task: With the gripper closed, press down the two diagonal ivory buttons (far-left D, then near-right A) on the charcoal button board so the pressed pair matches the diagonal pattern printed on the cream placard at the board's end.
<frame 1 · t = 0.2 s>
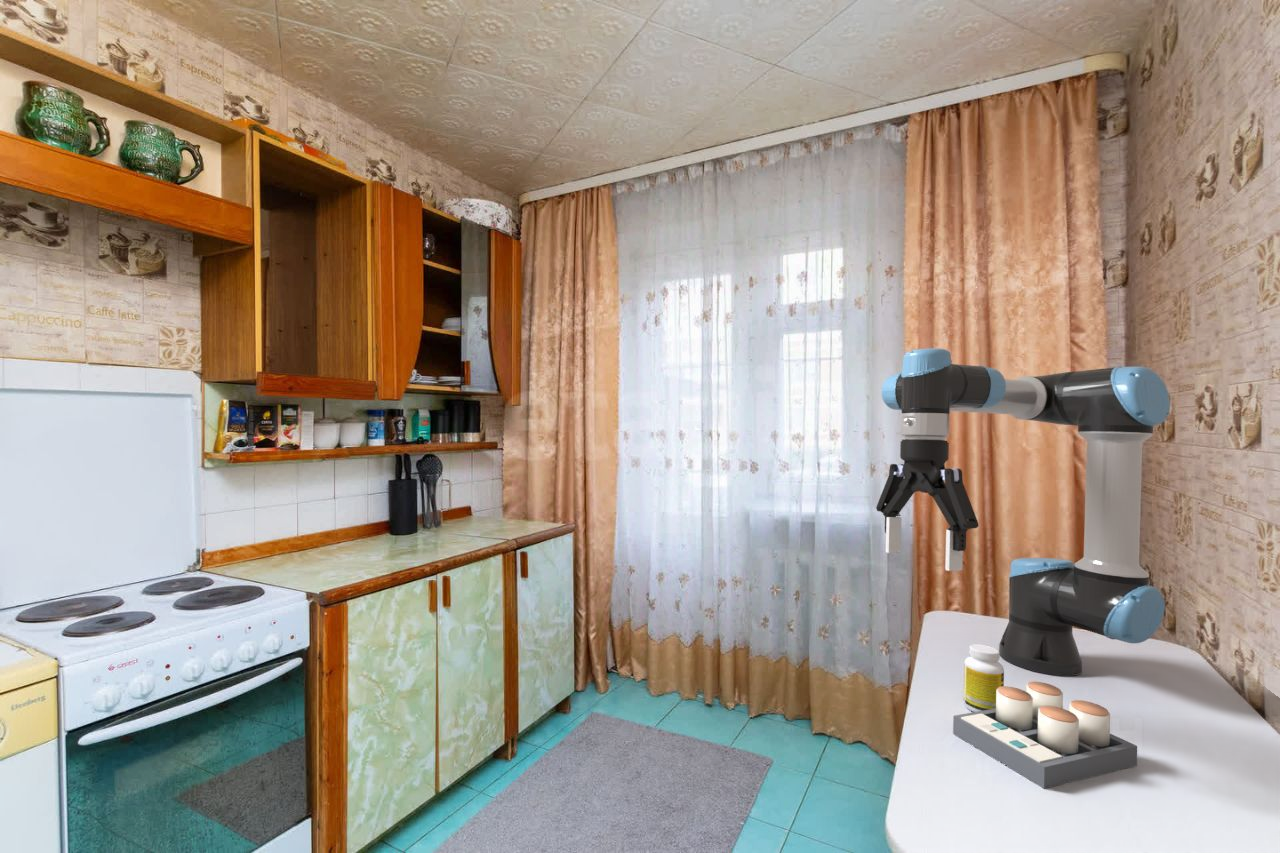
hand: (921, 560, 98), 28 cm above the table, fingers open, 13 cm apart
button A: (1044, 701, 95), point 5 cm above the table, slide at 0.0 cm
button D: (1057, 728, 86), point 5 cm above the table, slide at 0.0 cm
button B: (1089, 722, 88), point 5 cm above the table, slide at 0.0 cm
button C: (1014, 707, 92), point 5 cm above the table, slide at 0.0 cm
pill bottle: (983, 710, 102), on the table
board: (1041, 749, 90), on the table
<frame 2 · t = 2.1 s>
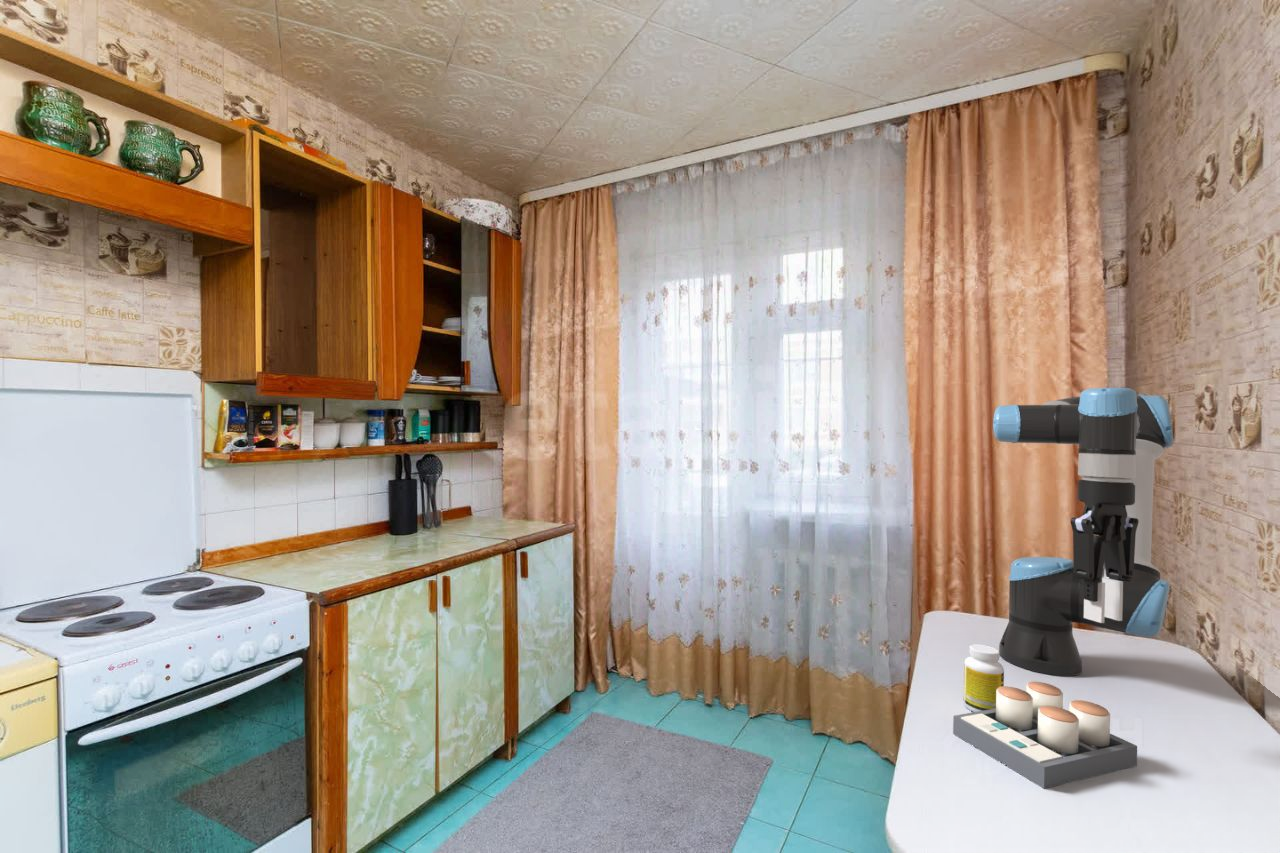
hand: (1102, 618, 94), 20 cm above the table, fingers open, 4 cm apart
nothing on the table moved.
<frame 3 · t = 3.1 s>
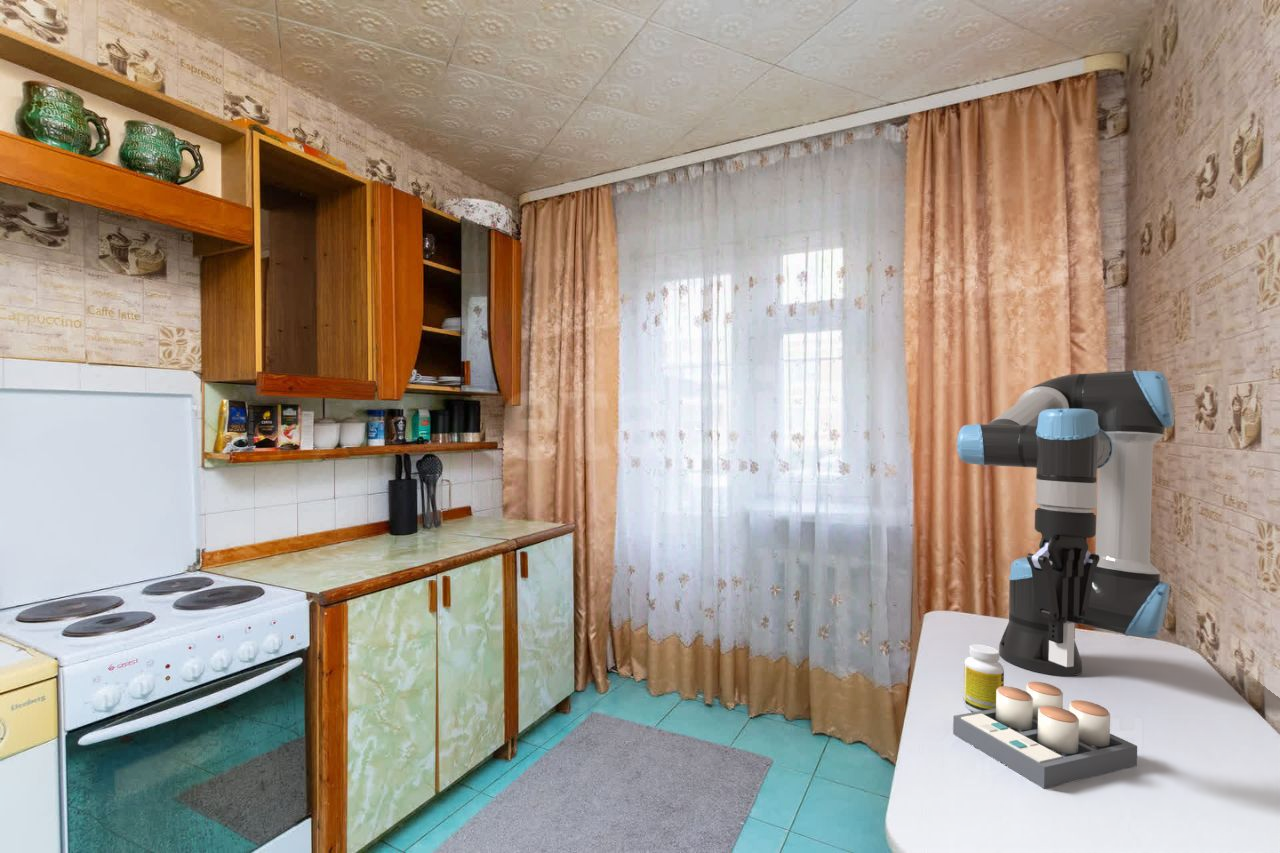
hand: (1060, 663, 86), 15 cm above the table, fingers closed
nothing on the table moved.
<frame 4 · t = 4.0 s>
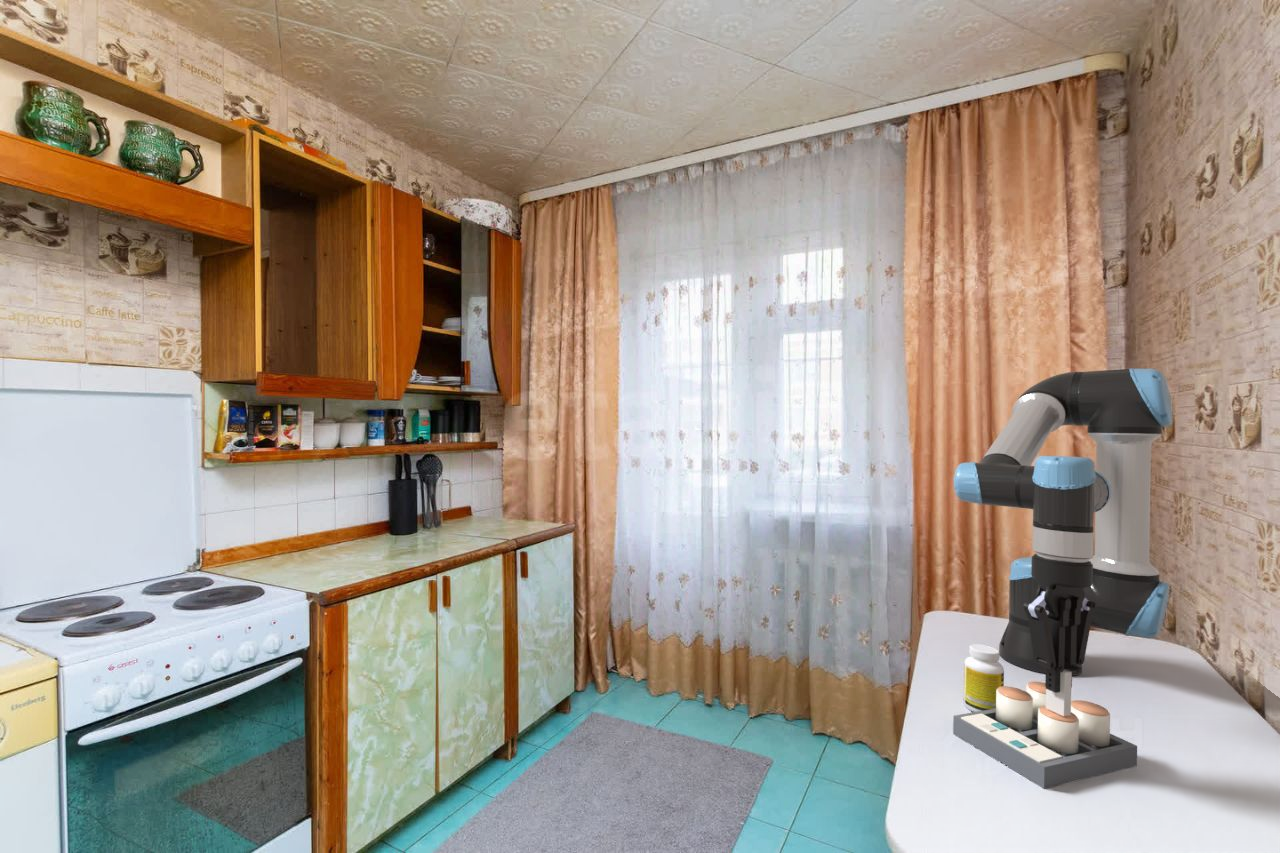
hand: (1057, 711, 86), 8 cm above the table, fingers closed
button D: (1057, 728, 86), point 5 cm above the table, slide at 0.0 cm, touching gripper
everything else where it was.
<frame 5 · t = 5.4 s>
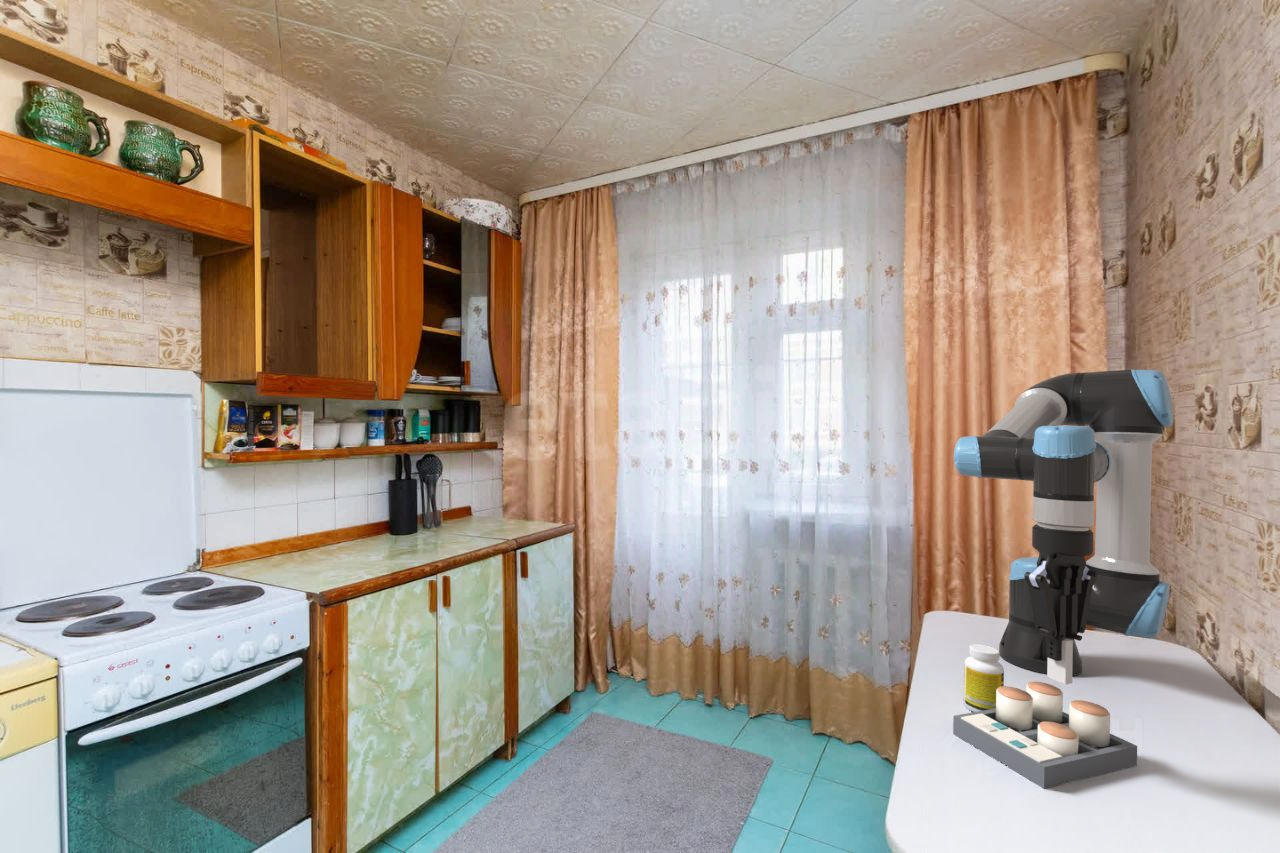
hand: (1059, 679, 86), 13 cm above the table, fingers closed
button D: (1057, 745, 86), point 3 cm above the table, slide at 2.5 cm
everything else where it was.
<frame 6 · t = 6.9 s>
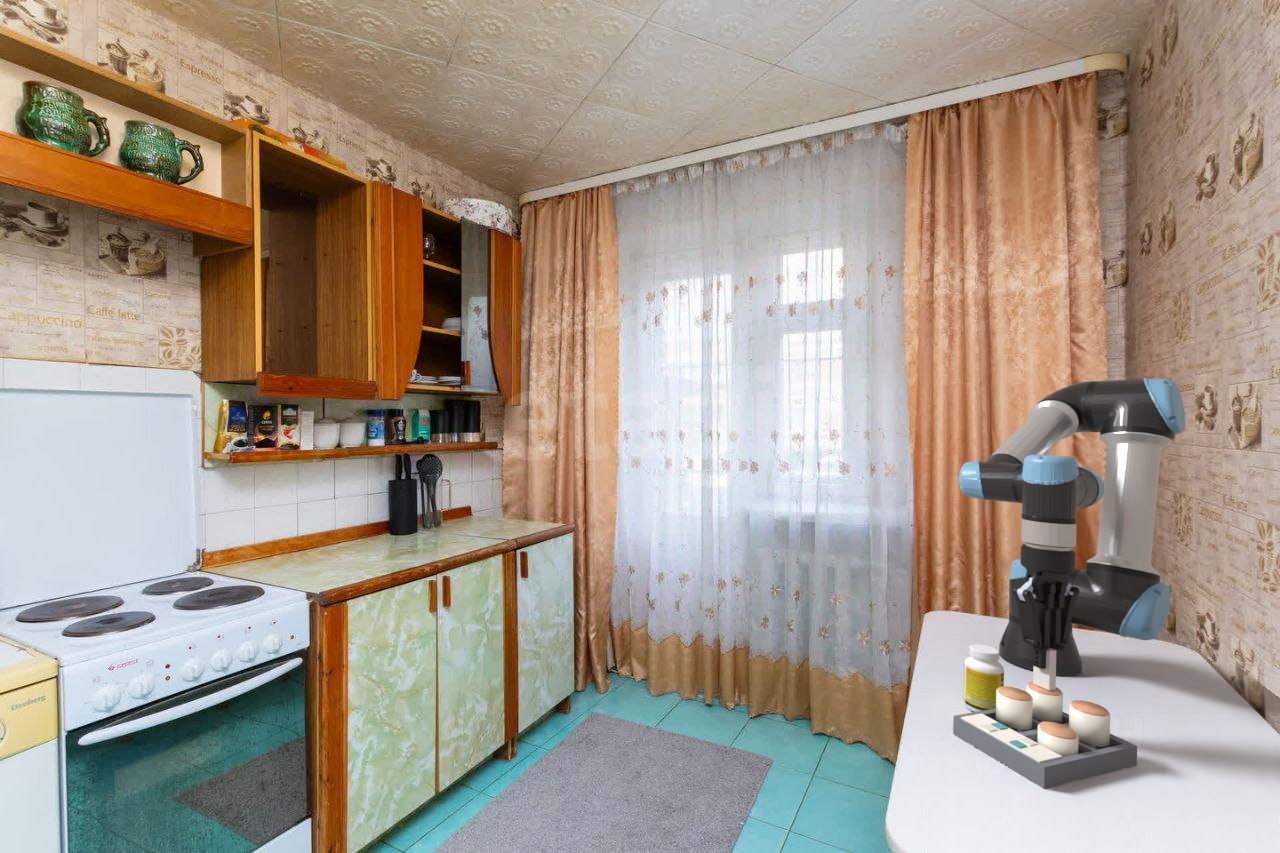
hand: (1044, 686, 95), 8 cm above the table, fingers closed
button A: (1044, 701, 95), point 5 cm above the table, slide at 0.0 cm, touching gripper
everything else where it was.
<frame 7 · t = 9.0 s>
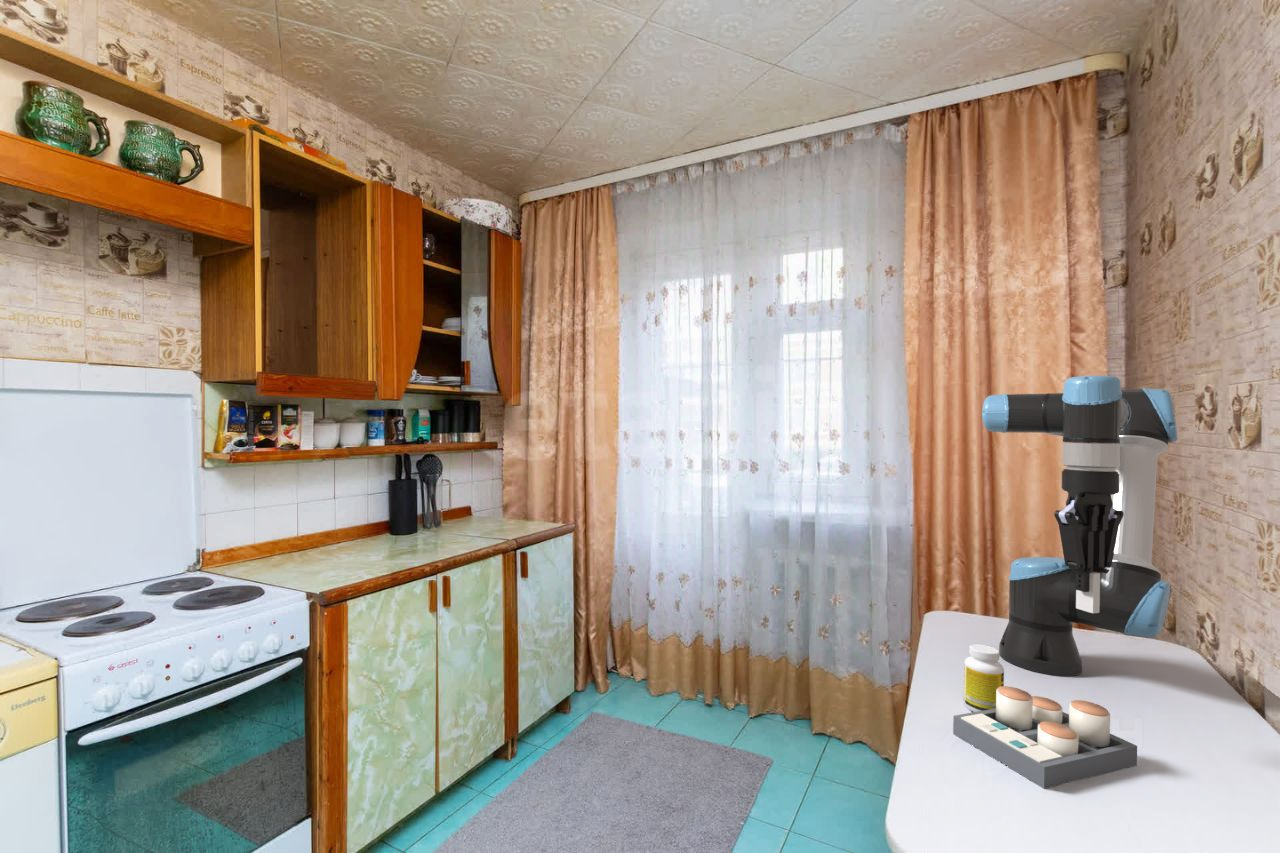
hand: (1087, 610, 94), 21 cm above the table, fingers closed
button A: (1043, 716, 95), point 3 cm above the table, slide at 2.5 cm
everything else where it was.
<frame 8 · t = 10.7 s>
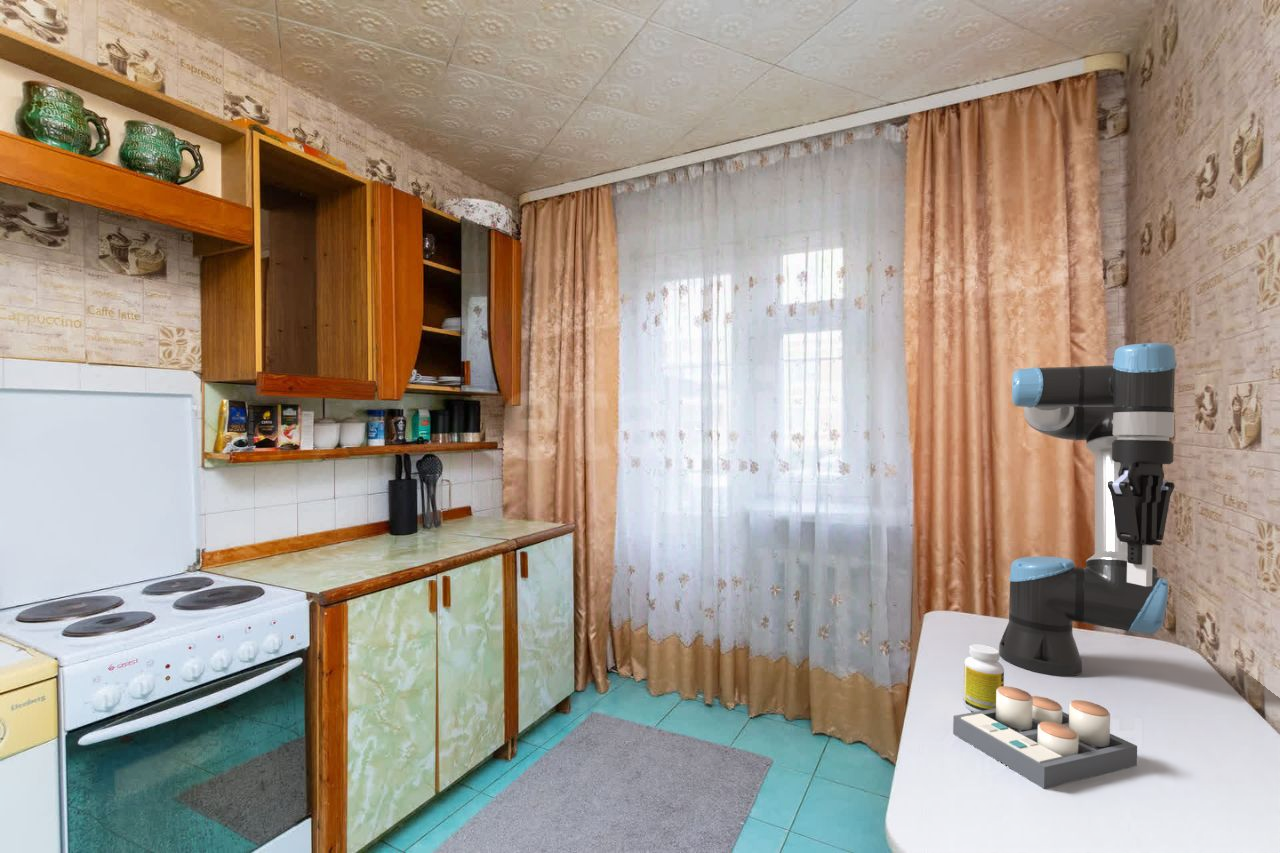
hand: (1139, 583, 91), 26 cm above the table, fingers closed
nothing on the table moved.
at the end: button D slide at 2.5 cm; button A slide at 2.5 cm; button B slide at 0.0 cm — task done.
